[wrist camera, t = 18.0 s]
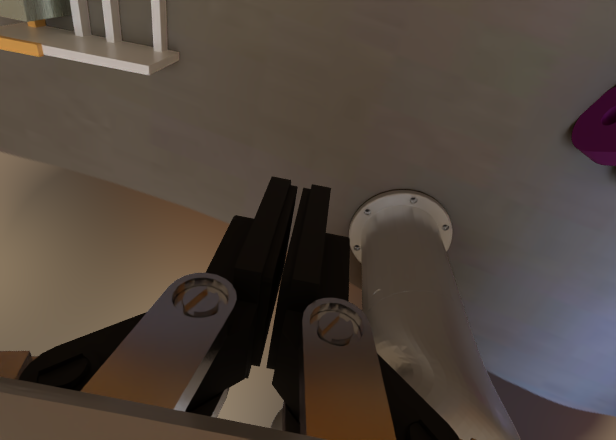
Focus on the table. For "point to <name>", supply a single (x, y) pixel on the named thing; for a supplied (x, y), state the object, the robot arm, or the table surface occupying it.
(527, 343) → the table surface
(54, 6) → the panel
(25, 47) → the rack
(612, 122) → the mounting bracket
